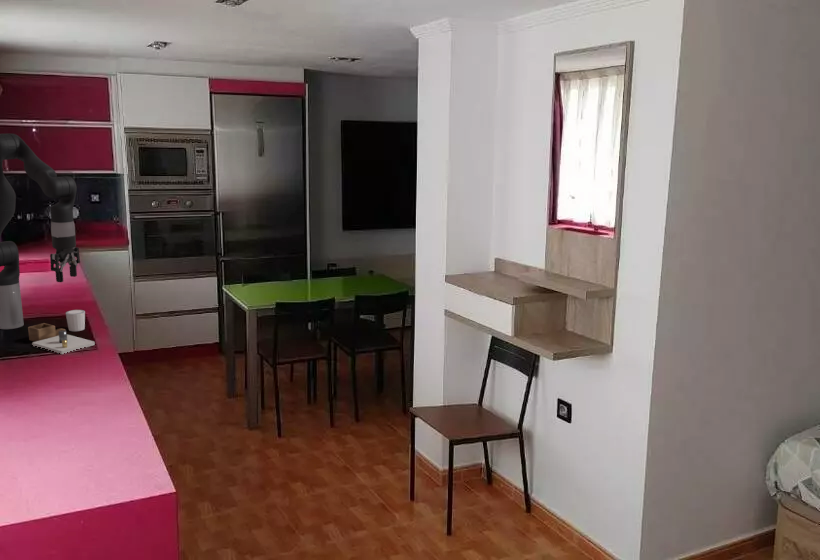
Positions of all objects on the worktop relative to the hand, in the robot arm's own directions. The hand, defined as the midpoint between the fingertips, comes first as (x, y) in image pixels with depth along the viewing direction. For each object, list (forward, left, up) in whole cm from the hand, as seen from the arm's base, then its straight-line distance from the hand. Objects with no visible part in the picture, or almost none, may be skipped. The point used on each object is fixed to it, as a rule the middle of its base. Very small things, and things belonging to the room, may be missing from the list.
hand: (66, 279), depth 259 cm
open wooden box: (-13, 0, -24) cm, 28 cm away
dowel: (+5, -6, -23) cm, 24 cm away
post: (-1, -3, -23) cm, 23 cm away
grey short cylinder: (-15, +12, -24) cm, 31 cm away
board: (-1, -3, -24) cm, 24 cm away
